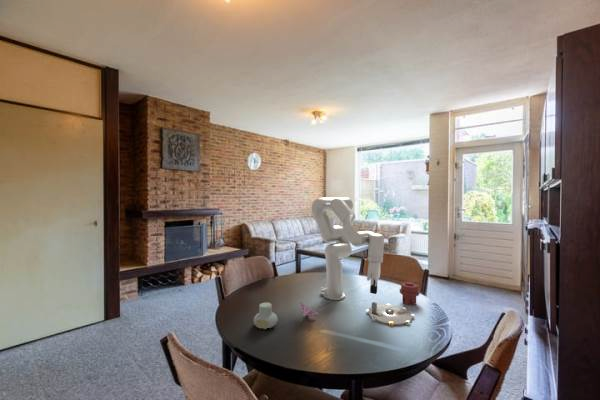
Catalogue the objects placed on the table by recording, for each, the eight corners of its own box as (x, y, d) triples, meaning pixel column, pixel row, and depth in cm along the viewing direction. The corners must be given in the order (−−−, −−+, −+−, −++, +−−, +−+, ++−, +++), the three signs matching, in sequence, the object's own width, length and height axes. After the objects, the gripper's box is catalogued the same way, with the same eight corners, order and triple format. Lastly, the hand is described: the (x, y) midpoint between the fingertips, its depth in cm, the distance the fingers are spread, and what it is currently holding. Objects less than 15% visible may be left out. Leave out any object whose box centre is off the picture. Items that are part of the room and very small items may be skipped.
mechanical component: (417, 302, 155) (421, 309, 145) (398, 301, 157) (401, 308, 147) (417, 280, 154) (421, 286, 145) (398, 279, 156) (401, 285, 147)
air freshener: (279, 323, 130) (279, 302, 130) (273, 331, 122) (273, 309, 122) (258, 320, 133) (257, 300, 133) (251, 329, 125) (250, 307, 125)
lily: (319, 328, 127) (324, 307, 131) (296, 321, 124) (302, 300, 128) (308, 325, 138) (313, 305, 142) (287, 319, 135) (293, 299, 139)
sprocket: (392, 330, 120) (392, 316, 120) (357, 312, 139) (357, 299, 139) (424, 319, 131) (424, 305, 131) (387, 303, 150) (387, 291, 150)
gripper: (371, 253, 149) (369, 286, 150) (364, 260, 136) (362, 296, 137) (385, 255, 146) (383, 289, 147) (380, 262, 132) (378, 300, 134)
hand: (373, 292), depth 142 cm, fingers closed
